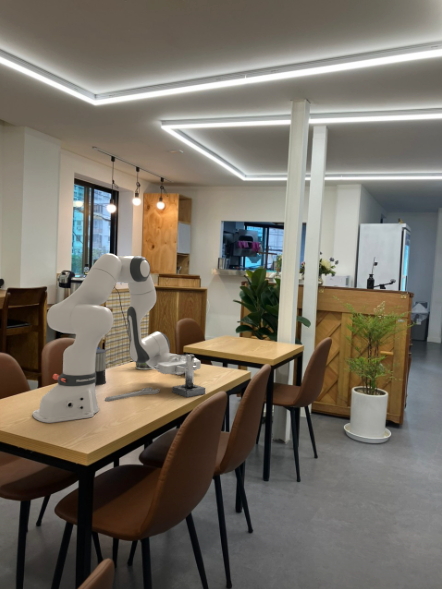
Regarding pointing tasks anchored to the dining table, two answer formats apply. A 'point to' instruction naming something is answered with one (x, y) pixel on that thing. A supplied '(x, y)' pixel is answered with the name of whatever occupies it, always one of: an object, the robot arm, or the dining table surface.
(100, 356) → the milk frother
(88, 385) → the robot arm
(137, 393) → the adjustable wrench
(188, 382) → the keyed metal peg
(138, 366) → the coffee can
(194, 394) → the socket block
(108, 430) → the dining table surface
